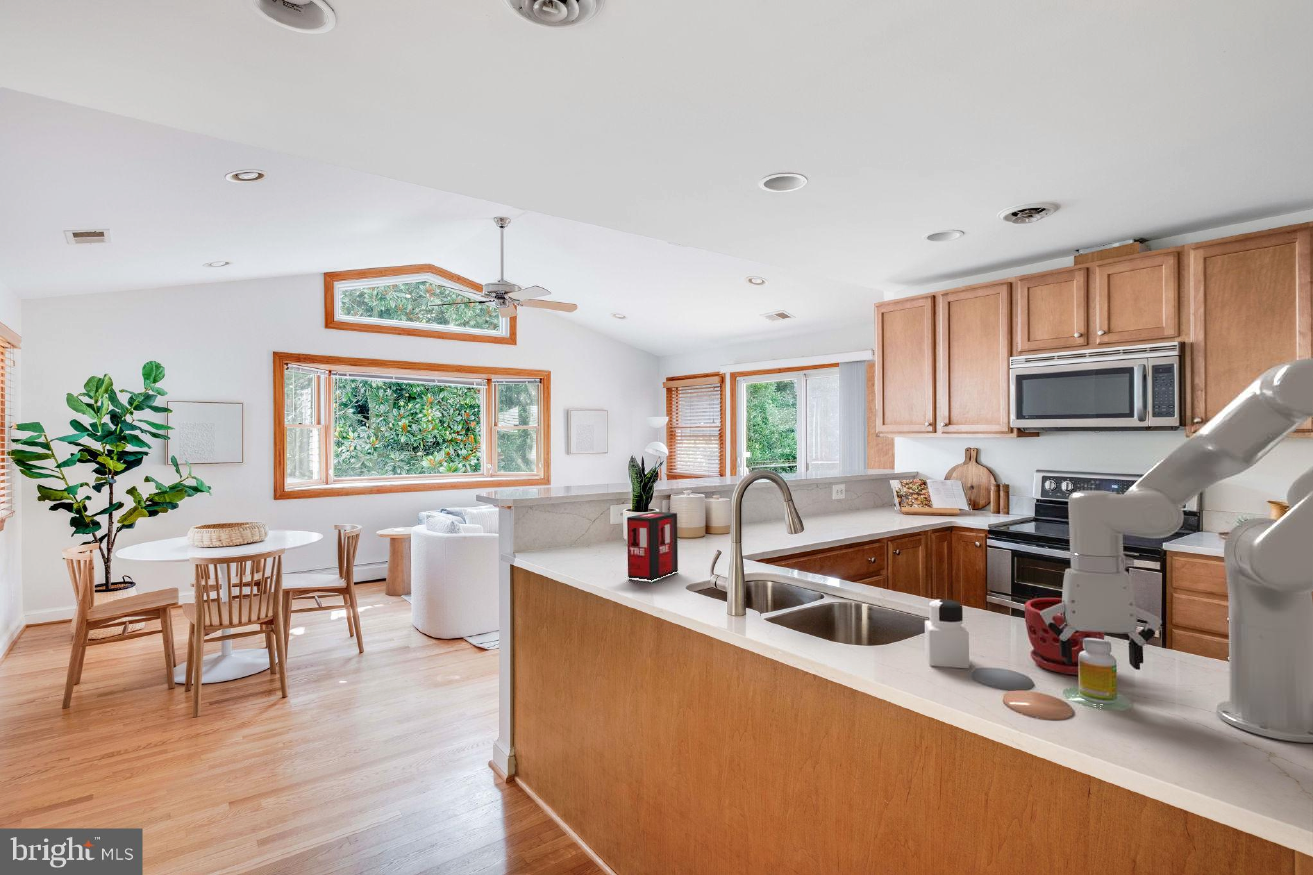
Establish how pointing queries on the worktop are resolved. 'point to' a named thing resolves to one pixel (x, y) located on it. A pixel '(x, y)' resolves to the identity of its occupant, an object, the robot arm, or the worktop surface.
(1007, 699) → the peach coaster
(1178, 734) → the worktop surface
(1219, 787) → the worktop surface
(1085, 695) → the supplement bottle
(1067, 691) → the sage green coaster
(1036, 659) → the plant pot
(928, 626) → the medicine bottle
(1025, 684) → the slate grey coaster
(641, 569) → the cleaning product box
